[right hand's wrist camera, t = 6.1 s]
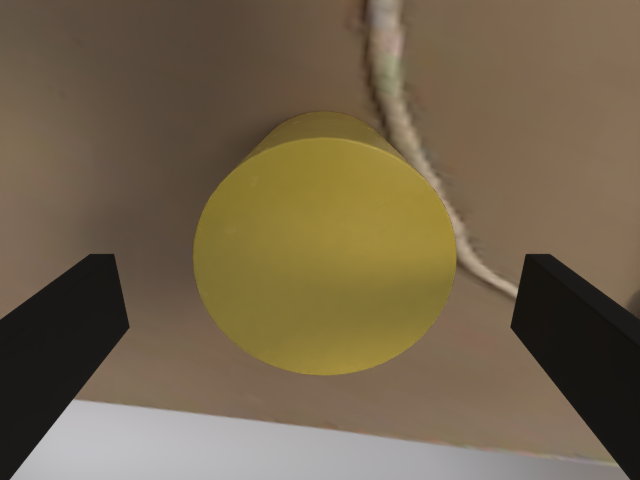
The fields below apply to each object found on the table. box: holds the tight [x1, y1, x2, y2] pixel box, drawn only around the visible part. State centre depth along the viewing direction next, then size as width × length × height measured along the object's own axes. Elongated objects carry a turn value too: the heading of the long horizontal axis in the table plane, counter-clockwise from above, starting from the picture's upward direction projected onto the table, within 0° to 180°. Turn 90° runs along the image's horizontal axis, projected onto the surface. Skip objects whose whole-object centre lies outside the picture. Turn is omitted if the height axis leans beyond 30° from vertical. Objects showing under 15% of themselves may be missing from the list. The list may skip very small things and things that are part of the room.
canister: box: [193, 111, 457, 376], centre depth 18 cm, size 9×9×10 cm
